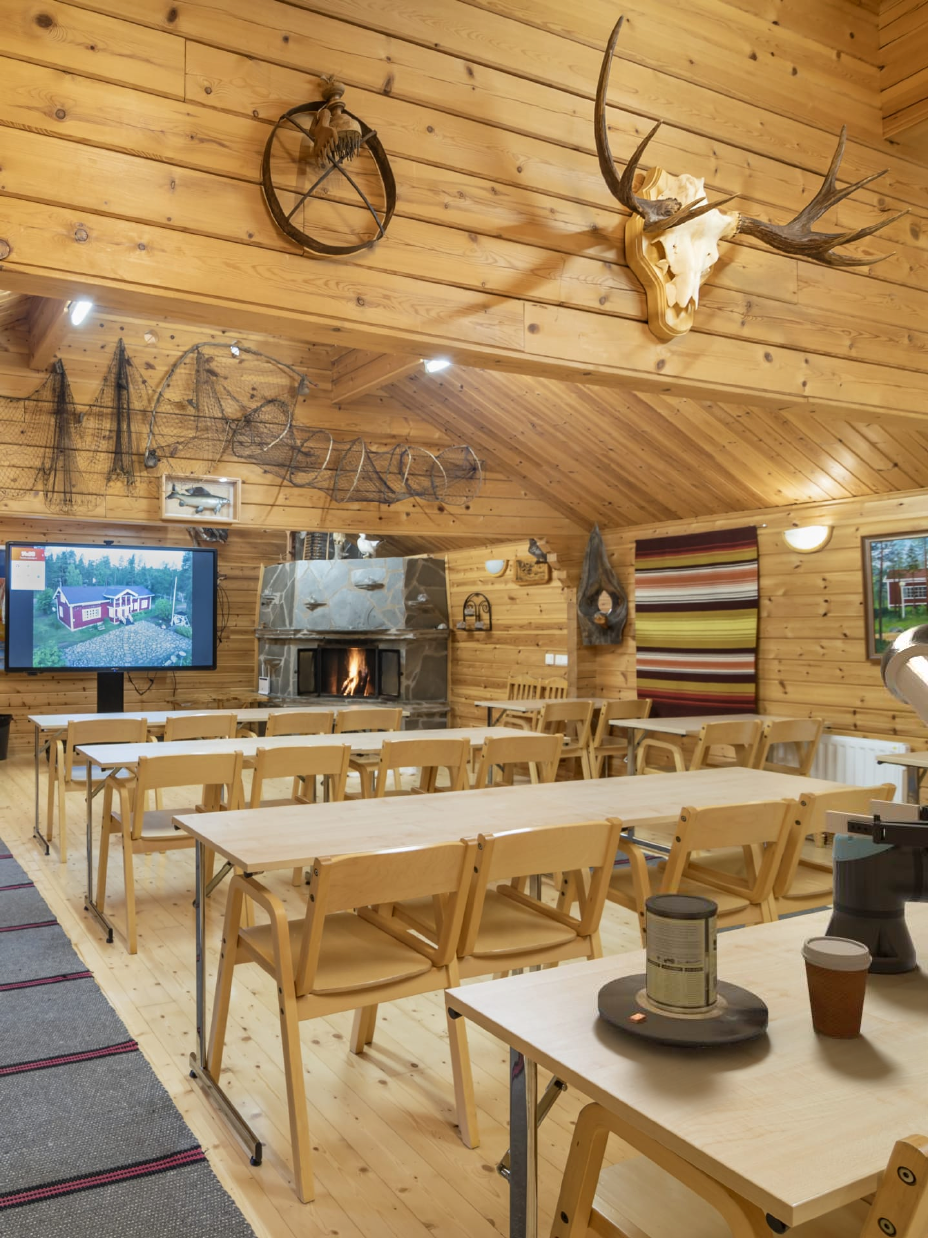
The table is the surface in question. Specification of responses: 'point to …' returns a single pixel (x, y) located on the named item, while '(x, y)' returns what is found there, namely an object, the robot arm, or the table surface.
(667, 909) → the coffee can
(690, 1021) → the turntable platter
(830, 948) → the disposable coffee cup
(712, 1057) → the table surface
